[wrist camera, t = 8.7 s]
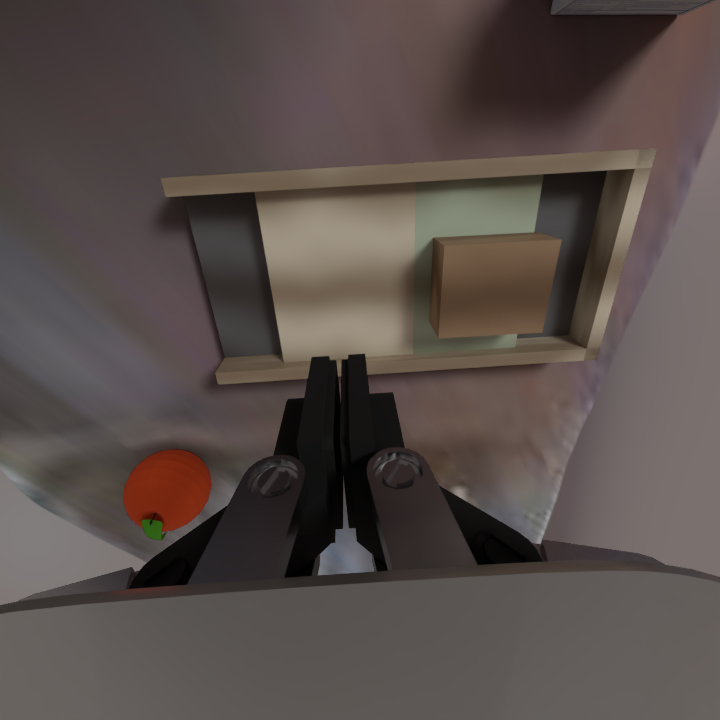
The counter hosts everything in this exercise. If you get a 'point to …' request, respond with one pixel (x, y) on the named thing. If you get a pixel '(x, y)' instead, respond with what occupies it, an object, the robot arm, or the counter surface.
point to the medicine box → (625, 7)
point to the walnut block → (491, 283)
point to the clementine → (167, 491)
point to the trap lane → (402, 257)
